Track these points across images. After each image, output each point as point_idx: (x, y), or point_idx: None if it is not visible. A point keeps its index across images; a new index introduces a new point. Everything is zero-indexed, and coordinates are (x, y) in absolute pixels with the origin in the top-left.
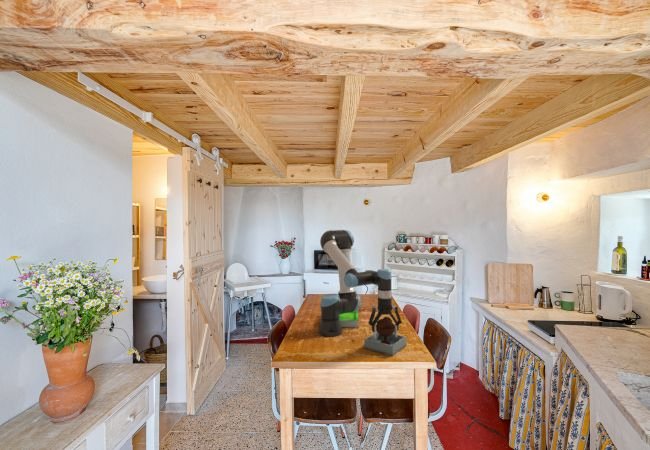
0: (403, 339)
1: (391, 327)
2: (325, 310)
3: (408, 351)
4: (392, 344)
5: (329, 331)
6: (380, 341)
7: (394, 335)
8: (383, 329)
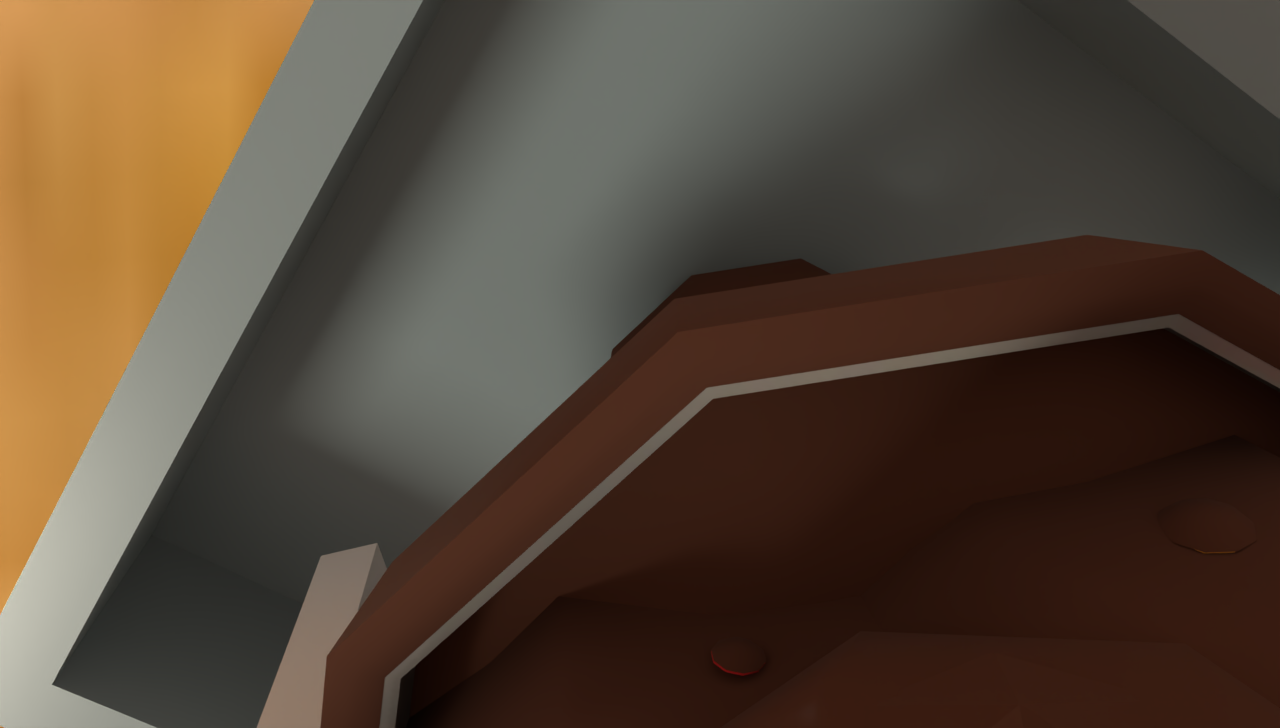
0: (75, 482)
1: (579, 690)
2: None
3: (17, 74)
4: None
5: None
6: None
7: None
8: (1252, 324)
